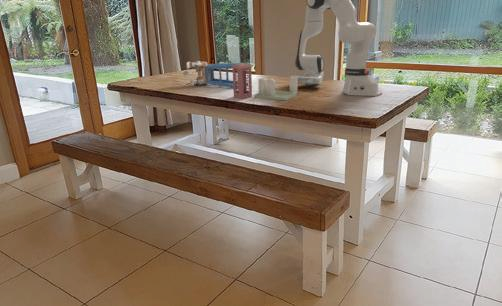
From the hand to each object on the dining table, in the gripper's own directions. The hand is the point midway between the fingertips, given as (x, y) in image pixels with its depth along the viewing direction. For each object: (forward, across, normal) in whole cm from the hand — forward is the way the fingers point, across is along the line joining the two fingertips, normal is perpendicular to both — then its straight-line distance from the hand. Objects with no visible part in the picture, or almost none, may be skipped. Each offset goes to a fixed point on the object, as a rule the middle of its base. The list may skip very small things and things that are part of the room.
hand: (300, 81), depth 238 cm
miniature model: (+32, -22, +6) cm, 39 cm away
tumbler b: (+27, -12, +5) cm, 30 cm away
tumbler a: (+27, -6, +5) cm, 28 cm away
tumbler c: (+10, 0, +6) cm, 12 cm away
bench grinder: (+2, -62, +6) cm, 63 cm away
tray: (+24, -5, +6) cm, 25 cm away
